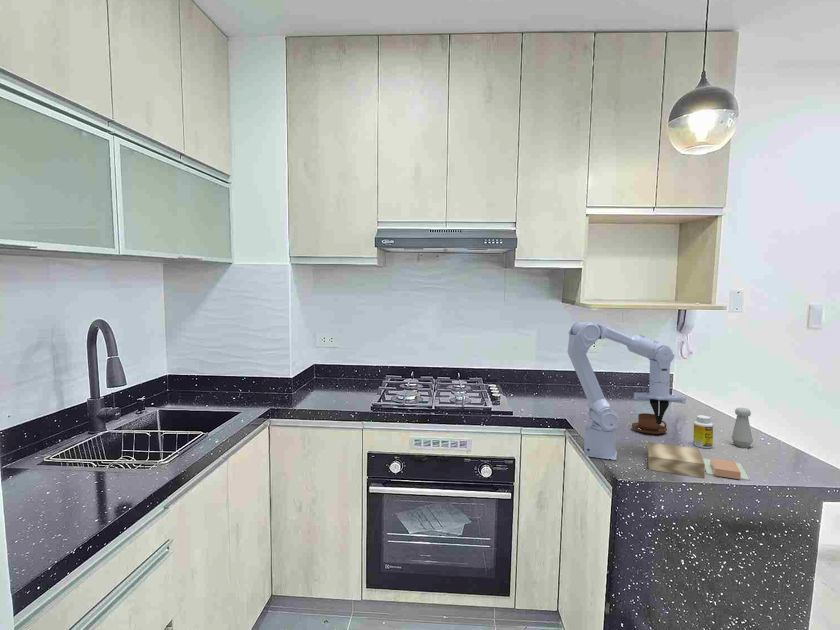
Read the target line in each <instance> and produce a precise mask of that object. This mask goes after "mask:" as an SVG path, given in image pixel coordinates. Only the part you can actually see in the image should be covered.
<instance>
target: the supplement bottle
mask: <svg viewBox="0 0 840 630" xmlns="http://www.w3.org/2000/svg"><path fill="white" fill-rule="evenodd" d="M713 437H714V423H713V422H711V417H710V416H709V415H708V416H707V415H702V414H700V415H696V420H695V421H693V443H692V444H693V445H694V446H695V447H697V448H699V449H700V448H701V449H712V447H713V446H714V445H713V442H714V441H713V440H714V438H713Z"/></svg>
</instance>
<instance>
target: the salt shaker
mask: <svg viewBox="0 0 840 630" xmlns="http://www.w3.org/2000/svg"><path fill="white" fill-rule="evenodd" d="M734 413H735V415H736V418H735V423H734V426H733V430H732V435H731V441H732V442H733V444H734V446H735V447H737V448H743V449H749V448H750V446H751V445H752V444H753V441H754V440H753V439H754V438H753V435H752V431H751V425H750V419H749V417H751V415H752V411H751V410H750V409H749V408H746V407H737V408H735V409H734Z"/></svg>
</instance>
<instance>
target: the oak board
mask: <svg viewBox="0 0 840 630" xmlns="http://www.w3.org/2000/svg"><path fill="white" fill-rule="evenodd" d="M703 459H704V458H703V456H702V453H701V451H700V448H698V447H697V448H695V447H689V446H680V445H672V444H666V443H665V444H664V443H657V442H648V441H647V462H648V465H647V466H648V470H649V471H657V472H662V473H669V474H675V475H683V476H690V477H695V478H701V479H702V478H703V479H705V477H706V476H705V474H706V473H705V472H706V470H705V463H704V461H703Z"/></svg>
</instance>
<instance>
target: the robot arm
mask: <svg viewBox="0 0 840 630" xmlns="http://www.w3.org/2000/svg"><path fill="white" fill-rule="evenodd" d="M568 337H569V338H568V343H567V344H568V345H567V354H568V357H569V359H570V363H572V366H573V369H574V371H575V373H576V375H577V378H578V380H579V382H580V385H581V387H582V390H583V392H584V394H585V397H586V399H587V401H588V402H587V407H588V416H589V419H590V420H591V421H592V422H591V425H585V426H584V435H583V436H584V437H583V438H584V439H583V440H584V443H583V448H584V449H583V456H584V457H591V458H597V459H604V460H609V459H611V460H610V461H616V460H617V456H618V451H617V450H616V437H617V436H616V434H617V432H616V430H617V429H616V428H618V426H619V424H620V417H619V414H617V412H615V411H614V410H613V409H612V406H611V405H610V403H609V402H608V400H607V399H606V398H605V396H604V393H603V391H602V388H601V385H600V383H599V381H598V379H597V376H596V373H595V372H594V368H593V367H592V365H591V362H590V361H589V358H588V356H587V353H588V351H589V349H590V348H591V347H592V346H593V345H594V344H595V343H596V342H597V341H598V340H604V339H607V340H610V341H613V342H616V343H618V344H622V345H624V346H626V347H627V350H628V351H629V352H631V353H633V354H636V355H638V356H641V357H644V358H646V359H648V360H649V384H648V385H649V388H648V390H649V391H648V392H633V398H634V399H633V400H642V401H643V400H645V401H649V404H650V406H651V408H652V411H653V414H655V417H656V424H660V425H662V424H663V422H662V421H663V417H664V415H665V413H666V411H667V409H668V407H669V405H670V403H678V404H684V405H686V404H687V403H686V396H683V395H682V396H681V395H675V394H670V385H671V384H670V379H671V363H672V361H673V360H674V358H675V354H674V352H673V349H671V347H670V346H668V345H664V344H660V343H659V341H658V340H652V339H648V338H646V336H645V335H643V334H634V335H632V336H629V335H627V334H625V333H623V332H620V331H618V330H616V329H613V328H611V327H609V326H606V325H604V324H603V325H602V324H598V323H595V322H591V321H590V322H586V321H583V320H579V321H576V322H574V323H573V324H572V325H571V327H570V329H569V330H568Z"/></svg>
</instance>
